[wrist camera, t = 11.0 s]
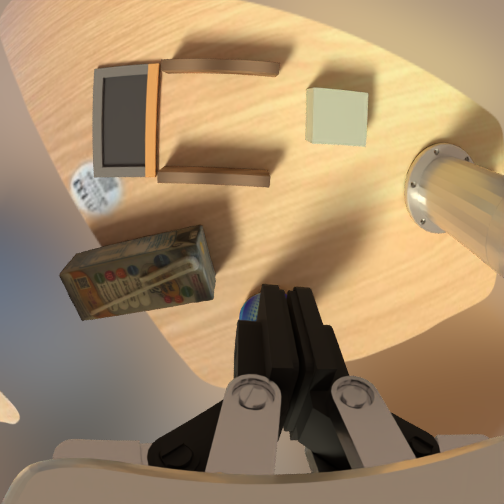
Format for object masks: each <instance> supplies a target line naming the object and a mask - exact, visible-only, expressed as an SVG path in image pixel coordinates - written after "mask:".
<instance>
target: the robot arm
mask: <svg viewBox="0 0 504 504" xmlns="http://www.w3.org/2000/svg"><path fill="white" fill-rule="evenodd" d="M411 182H412V183H411ZM404 195H405V203H406V207H407V210H408V212H409V214H410V216H411V218H412V219H413V220H414V222H415V223H416V224H417V225H419V226H420V227H421V228H423V229H424V230H426V231H428V232H431V233H438V234H439V233H446V232H447V233H448V234H449V235H450V236H452V237H453V238H454V239H456V240H457V241H458V242H460V243H461V244H462V245H463V246H465V247H466V248H467V249H469V250H470V251H471V252H472V253H473V254H475V255H476V256H477V257H478V258H480V259H481V260H482V261H483V262H485V263H486V264H487V265H488V266H489V267H491V268H492V269H493V270H494V271H495V272H497V273H498V274H499V275H500V276H502V277H503V278H504V175H501V174H499V173H496V172H494V171H491V170H489V169H486V168H484V167H481V166H478V165H476V164H474V162H473V161H472V159H471V157H470V156H469V155H468V154H467V152H466V151H464V150H463V149H462V148H460V147H458V146H456V145H453V144H449V143H438V144H434V145H431V146H429V147H427V148H426V149H425V150H423V151H422V152H421V153H420V154H419V155H418V156H417V157H416V158H415V160H414V161H413V163H412V165H411V166H410V169H409V171H408V174H407V177H406V182H405V191H404ZM282 428H284V431H289V432H290V440H298V441H299V442H300V443H301V444H303V445H304V446H305V455H306V458H307V461H308V464H309V467H310V470H311V473H307V474H283V475H274V471H275V461H276V451H277V442H278V440H279V437H280V434H281V431H282ZM2 504H504V436H500V437H495V438H491V439H489V438H488V437H486V436H484V435H480V434H478V435H477V434H475V435H437V436H436V437H435V438H434V437H433V436H432V435H430V434H429V433H427V432H426V431H424V430H422V429H420V428H418V427H416V426H415V425H413V424H411V423H409V422H407V421H405V420H403V419H402V418H400V417H398V416H396V415H395V414H393V413H391V412H390V411H389V409H388V408H387V406H386V404H385V402H384V401H383V399H382V397H381V396H380V394H379V392H378V390H377V389H376V388H375V386H374V385H373V384H372V383H370V382H369V381H367V380H365V379H363V378H361V377H356V376H349V374H348V371H347V368H346V365H345V362H344V359H343V356H342V353H341V351H340V348H339V345H338V342H337V339H336V336H335V334H334V331H333V328H332V327H331V326H330V325H323V323H322V320H321V317H320V314H319V311H318V308H317V305H316V302H315V299H314V296H313V293H312V290H311V288H305V287H294V289H293V291H290V290H289V291H288V292H287V297H286V296H285V291H284V290H279V286H278V285H267V284H262V287H261V293H260V300H259V306H258V313H257V320H256V321H249V320H238V322H237V330H236V339H235V352H234V379H233V380H232V381H231V382H230V383H229V384H228V386H227V388H226V392H225V396H224V399H223V400H222V401H220V402H219V403H217V404H215V405H214V406H213V407H211V408H209V409H207V410H206V411H204V412H203V413H201V414H199V415H198V416H196V417H195V418H193V419H191V420H189V421H188V422H186V423H184V424H183V425H181V426H179V427H178V428H176V429H174V430H172V431H171V432H169V433H167V434H165V435H164V436H162V437H160V438H158V439H157V440H156V441H155V442H153V443H145V444H140V442H139V441H111V440H84V439H70V440H66V441H64V442H62V443H60V444H59V445H58V446H57V447H56V448H55V451H54V454H53V459H51V460H46V461H41V462H37V463H35V464H31V465H29V466H28V467H26V468H25V469H24V470H22V471H21V472H20V473H19V474H18V475H17V477H16V478H15V479H14V481H13V482H12V484H11V486H10V487H9V489H8V491H7V493H6V495H5V497H4V499H3V501H2Z"/></svg>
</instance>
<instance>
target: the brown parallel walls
mask: <svg viewBox="0 0 504 504" xmlns="http://www.w3.org/2000/svg"><path fill="white" fill-rule="evenodd" d="M279 66H280V63H275V62H264V61H250V60H232V59H164V60H161V71H163V72H165V73H168V74H170V73H219V74H242V75H257V76H270V77H276V76H277V75H278V74H279ZM158 183H186V184H215V185H236V186H254V187H269V186H270V175H269V172H268V170H256V169H239V168H217V167H186V166H164V167H163V168H162V169H161V170H159V171H158Z"/></svg>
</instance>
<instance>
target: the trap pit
mask: <svg viewBox="0 0 504 504" xmlns="http://www.w3.org/2000/svg"><path fill="white" fill-rule="evenodd" d="M159 71H160V64H159V63H157V64H141V65H128V66H118V67H109V68H100V69H94V86H93V167H94V177H156V146H157V108H158V87H159Z"/></svg>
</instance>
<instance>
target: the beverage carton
mask: <svg viewBox="0 0 504 504" xmlns="http://www.w3.org/2000/svg"><path fill="white" fill-rule="evenodd" d="M215 275H216V274H215V271H214V268H213V265H212V261H211V258H210V254H209V250H208V246H207V242H206V239H205V234H204V230H203V227H202V225H198V226H193V227H188V228H184V229H180V230H175V231H170V232H165V233H161V234H156V235H152V236H147V237H143V238H139V239H134V240H129V241H125V242H121V243H117V244H112V245H108V246H104V247H100V248H96V249H92V250H88V251H85V252H81V253H77V254H76V255H75V256H74V257H73V258H72V260H71V261H70V262H69V263H68V264H67V265H66V267H65V268H64V269H63V270H62V272H61V273H60V278H61V280H62V282H63V284H64V286H65V288H66V290H67V292H68V295H69V297H70V299H71V301H72V303H73V304H74V306H75V308H76V310H77V312H78V314H79V316H80V318H81V320H82V321H84V320H93V319H98V318H104V317H112V316H119V315H124V314H130V313H136V312H142V311H149V310H155V309H161V308H167V307H173V306H178V305H184V304H189V303H195V302H201V301H209V300H213V299H214V288H215V282H216V280H215Z"/></svg>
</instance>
